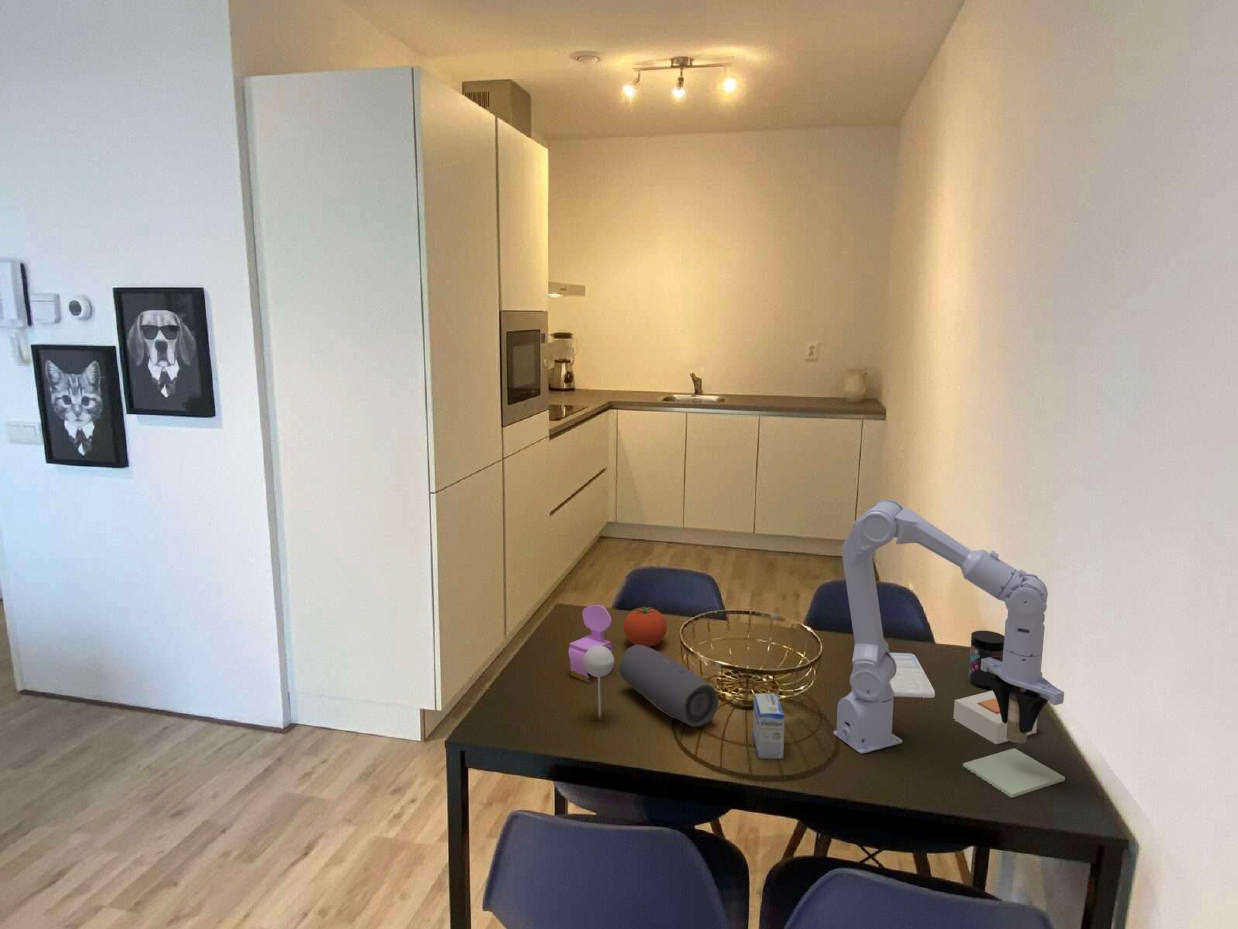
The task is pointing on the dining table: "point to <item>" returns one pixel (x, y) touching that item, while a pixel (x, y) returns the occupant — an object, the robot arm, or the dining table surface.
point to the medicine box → (768, 726)
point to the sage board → (1013, 772)
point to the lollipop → (598, 665)
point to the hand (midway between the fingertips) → (1016, 726)
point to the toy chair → (590, 637)
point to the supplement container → (984, 656)
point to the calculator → (910, 678)
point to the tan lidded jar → (1014, 720)
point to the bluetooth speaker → (669, 685)
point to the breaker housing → (982, 718)
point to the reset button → (991, 705)
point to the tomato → (645, 626)
